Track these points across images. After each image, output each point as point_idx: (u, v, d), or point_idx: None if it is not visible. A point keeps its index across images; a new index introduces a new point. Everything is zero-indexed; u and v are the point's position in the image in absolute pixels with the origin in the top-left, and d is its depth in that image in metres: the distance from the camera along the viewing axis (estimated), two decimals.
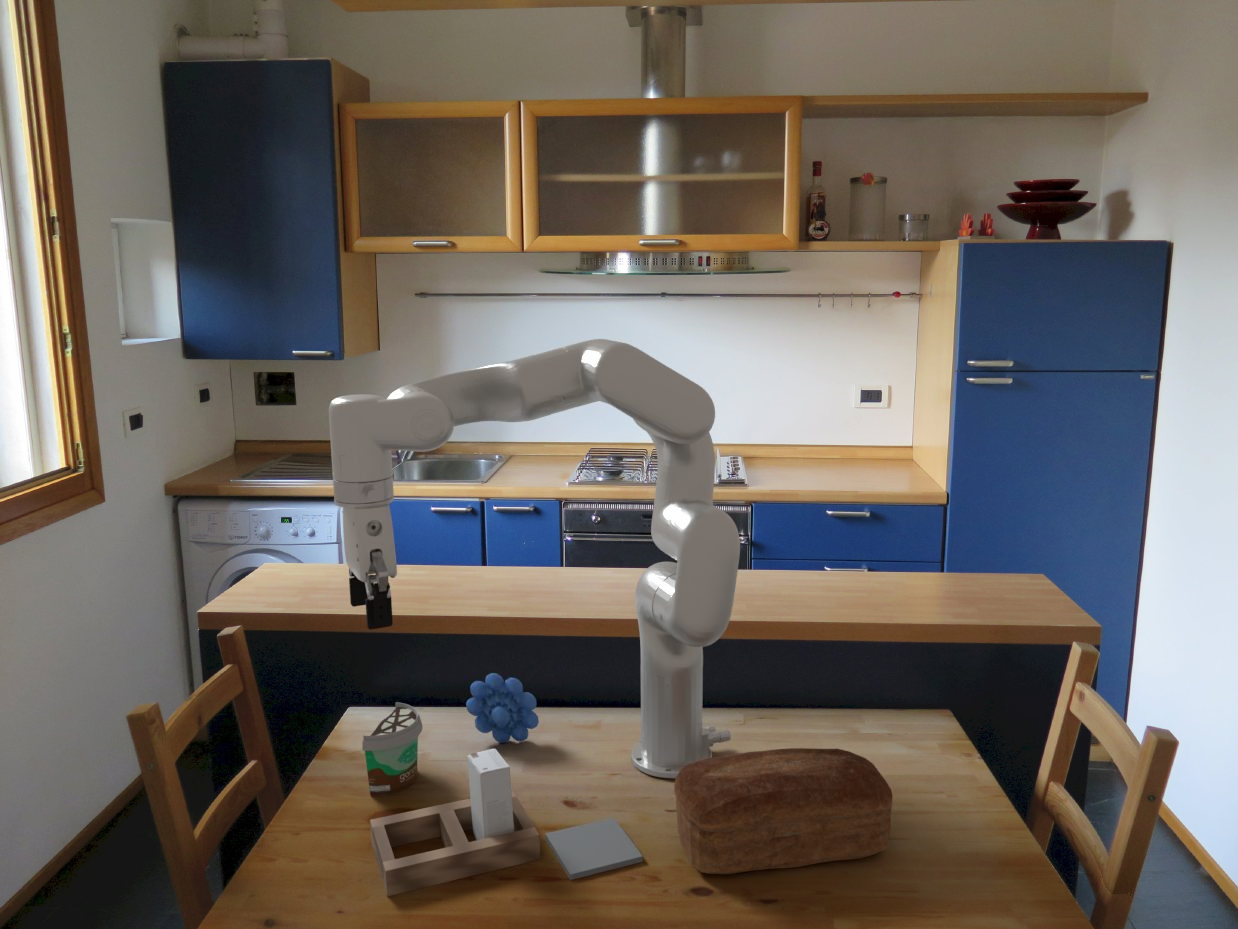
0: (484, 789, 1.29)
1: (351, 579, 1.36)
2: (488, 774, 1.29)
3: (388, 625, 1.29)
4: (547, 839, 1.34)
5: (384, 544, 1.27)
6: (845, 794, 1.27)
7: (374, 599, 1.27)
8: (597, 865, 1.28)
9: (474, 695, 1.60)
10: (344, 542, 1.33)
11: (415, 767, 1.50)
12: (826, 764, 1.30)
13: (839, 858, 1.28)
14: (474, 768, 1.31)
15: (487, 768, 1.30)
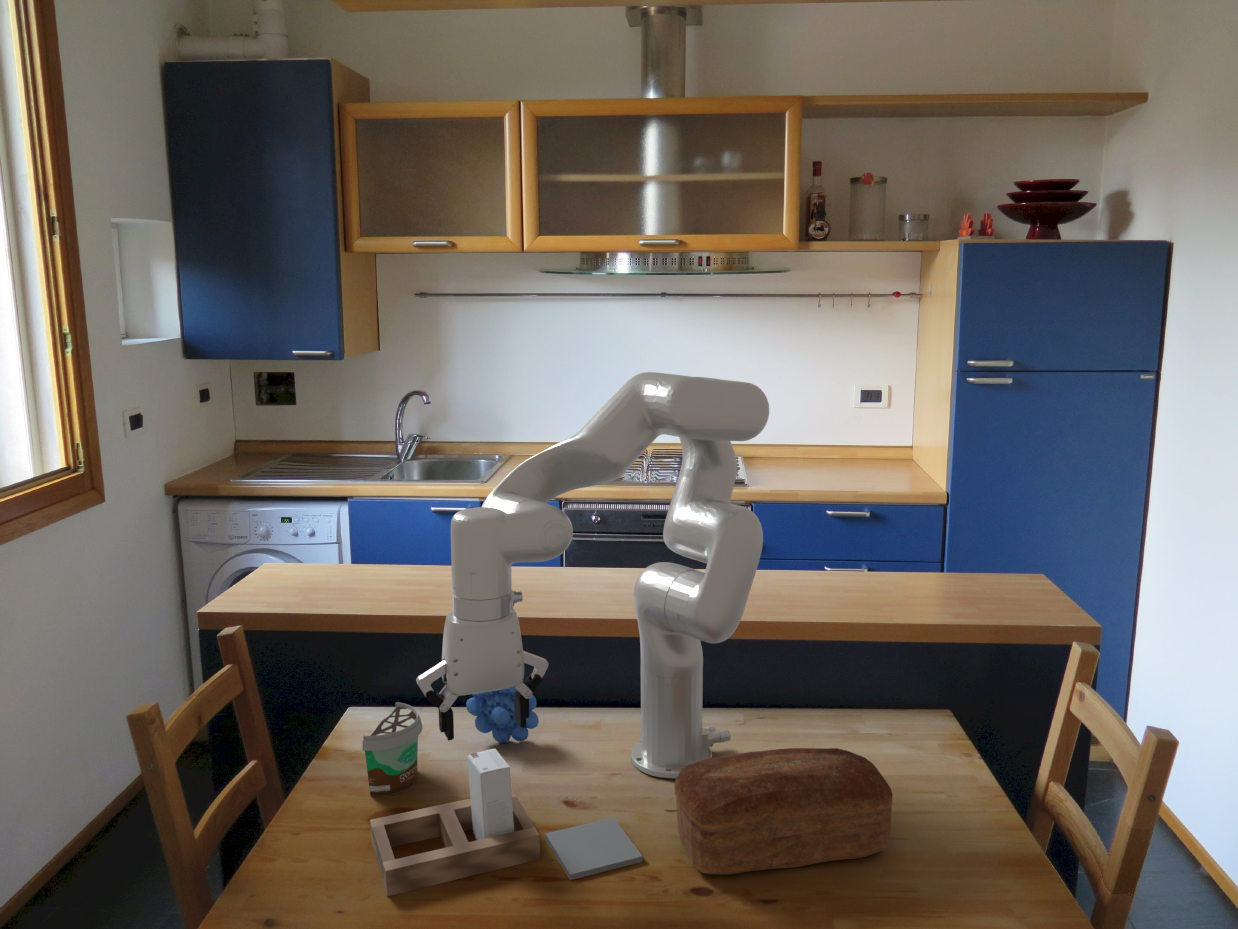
0: (484, 789, 1.29)
1: None
2: (488, 774, 1.29)
3: None
4: (547, 839, 1.34)
5: None
6: (846, 793, 1.27)
7: None
8: (597, 865, 1.28)
9: (474, 695, 1.60)
10: (462, 670, 1.26)
11: (415, 767, 1.50)
12: (826, 764, 1.31)
13: (840, 858, 1.29)
14: (474, 768, 1.31)
15: (487, 768, 1.30)
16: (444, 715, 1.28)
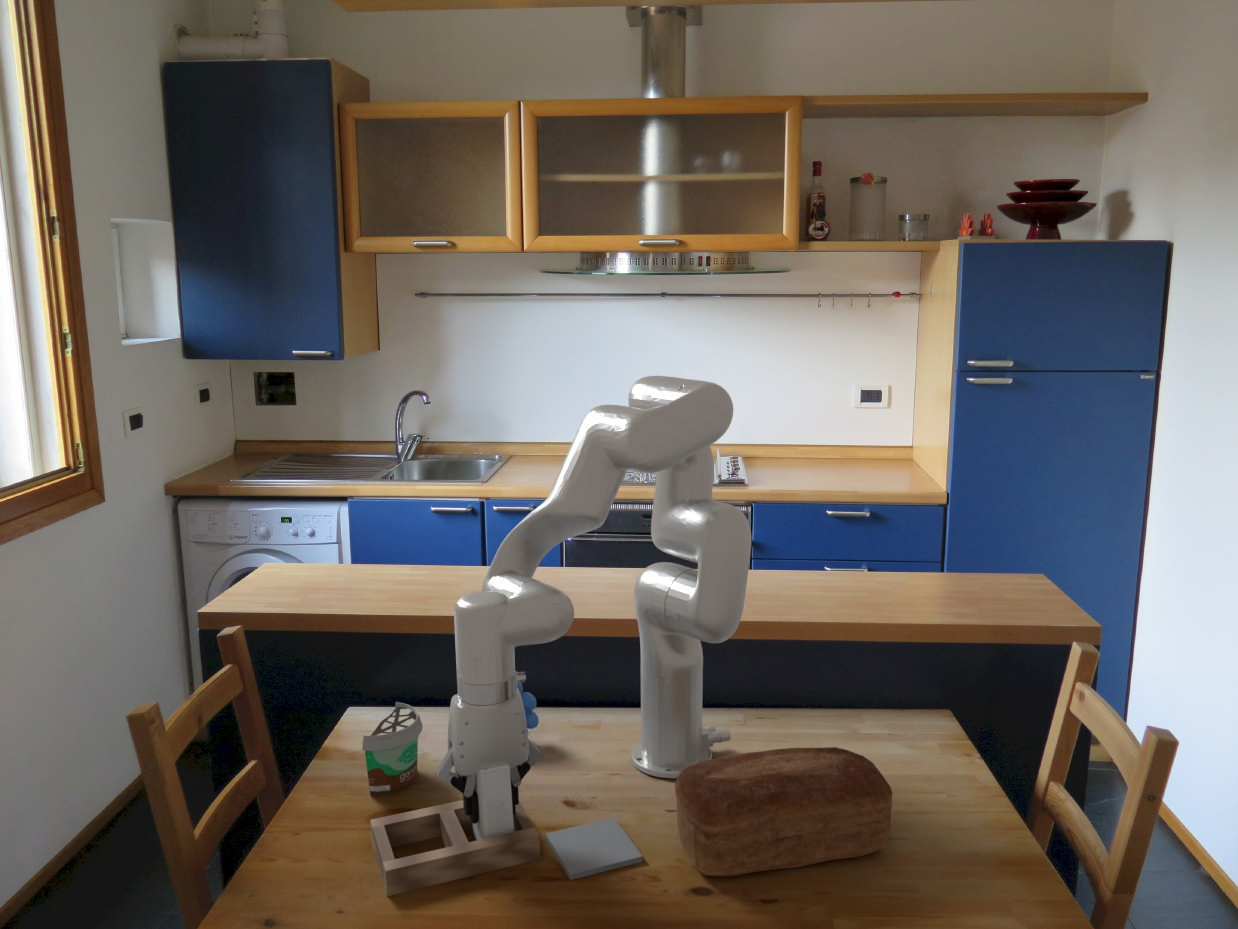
0: (484, 789, 1.29)
1: (475, 796, 1.31)
2: (488, 773, 1.29)
3: None
4: (547, 839, 1.34)
5: None
6: (847, 792, 1.27)
7: None
8: (597, 865, 1.28)
9: None
10: (468, 752, 1.28)
11: (415, 767, 1.50)
12: (827, 763, 1.31)
13: (841, 856, 1.29)
14: None
15: (487, 768, 1.30)
16: (468, 799, 1.31)
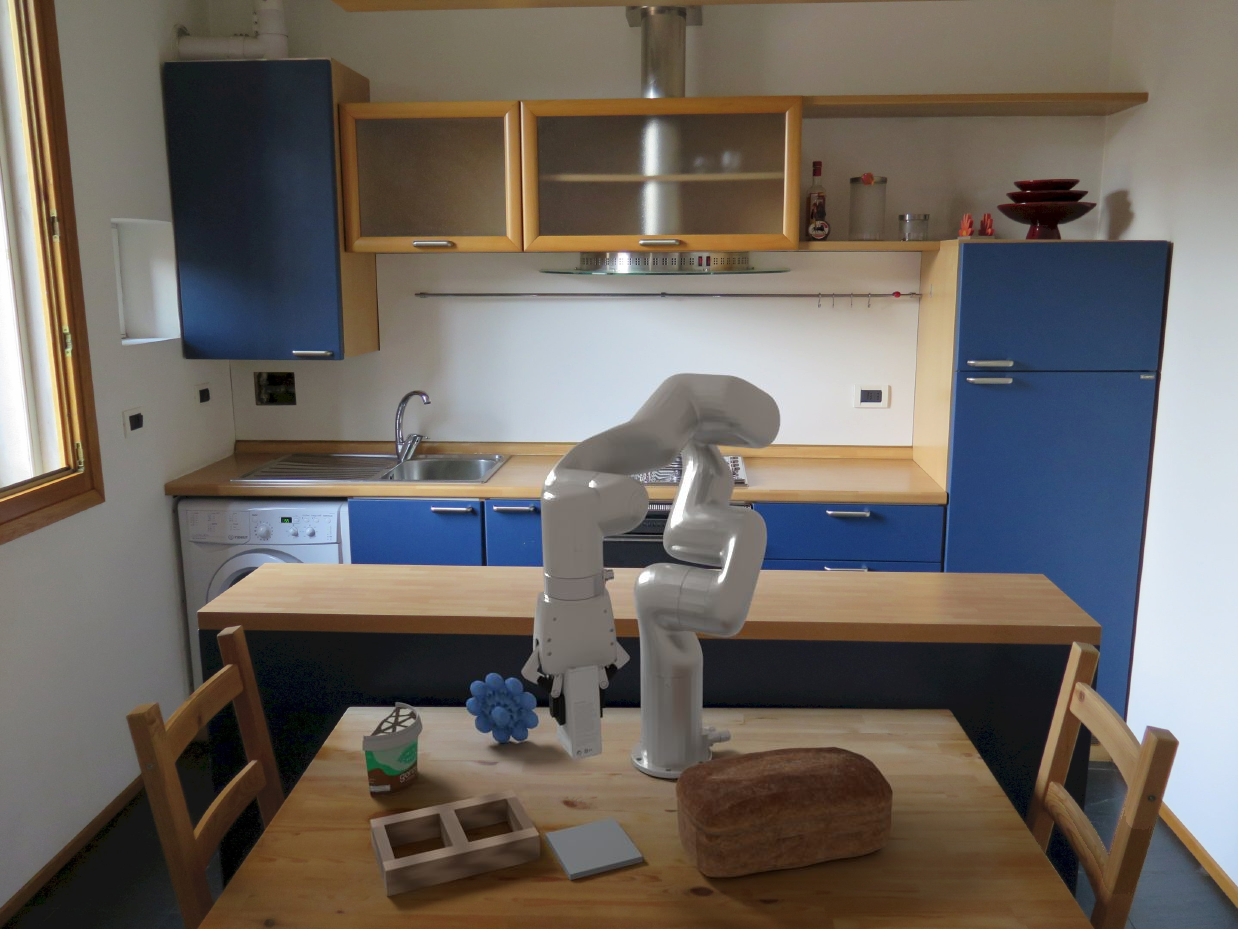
0: (571, 688, 1.25)
1: (562, 697, 1.27)
2: (576, 673, 1.25)
3: None
4: (547, 839, 1.34)
5: None
6: (848, 792, 1.27)
7: None
8: (597, 865, 1.28)
9: (474, 695, 1.60)
10: (555, 650, 1.24)
11: (415, 767, 1.50)
12: (827, 763, 1.31)
13: (842, 856, 1.29)
14: None
15: (575, 668, 1.25)
16: (555, 700, 1.27)
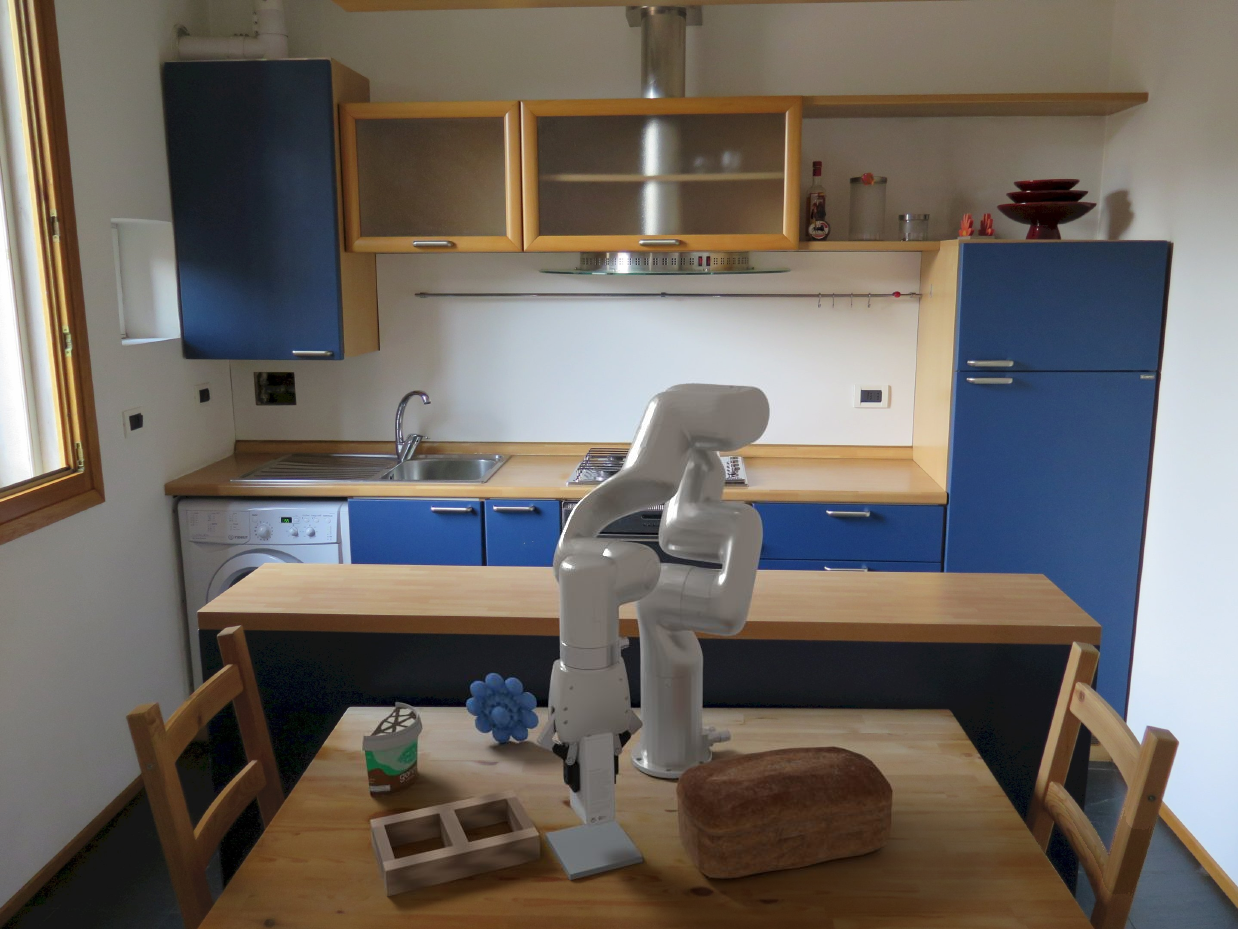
0: (587, 756, 1.26)
1: None
2: (592, 741, 1.26)
3: None
4: (547, 839, 1.34)
5: None
6: (849, 791, 1.27)
7: None
8: (597, 865, 1.28)
9: (474, 695, 1.60)
10: (571, 718, 1.25)
11: (415, 767, 1.50)
12: (827, 763, 1.31)
13: (843, 856, 1.29)
14: None
15: (590, 735, 1.27)
16: (570, 768, 1.28)
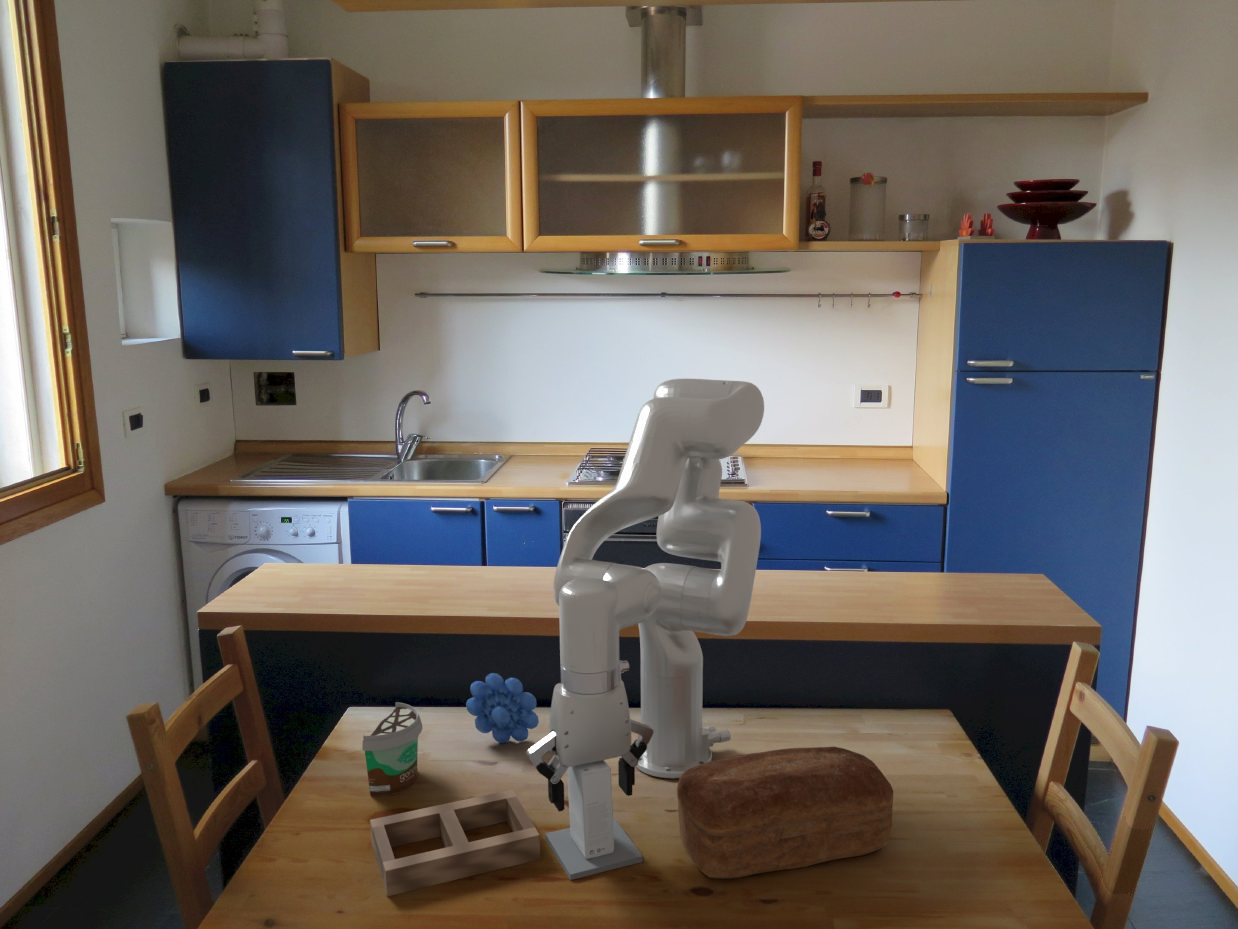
0: (585, 790, 1.27)
1: (562, 783, 1.27)
2: (589, 775, 1.27)
3: None
4: (547, 839, 1.34)
5: None
6: (849, 792, 1.27)
7: None
8: (597, 865, 1.28)
9: (474, 695, 1.60)
10: (572, 742, 1.26)
11: (415, 767, 1.50)
12: (828, 763, 1.31)
13: (843, 856, 1.29)
14: (574, 769, 1.29)
15: (588, 769, 1.28)
16: (554, 786, 1.28)
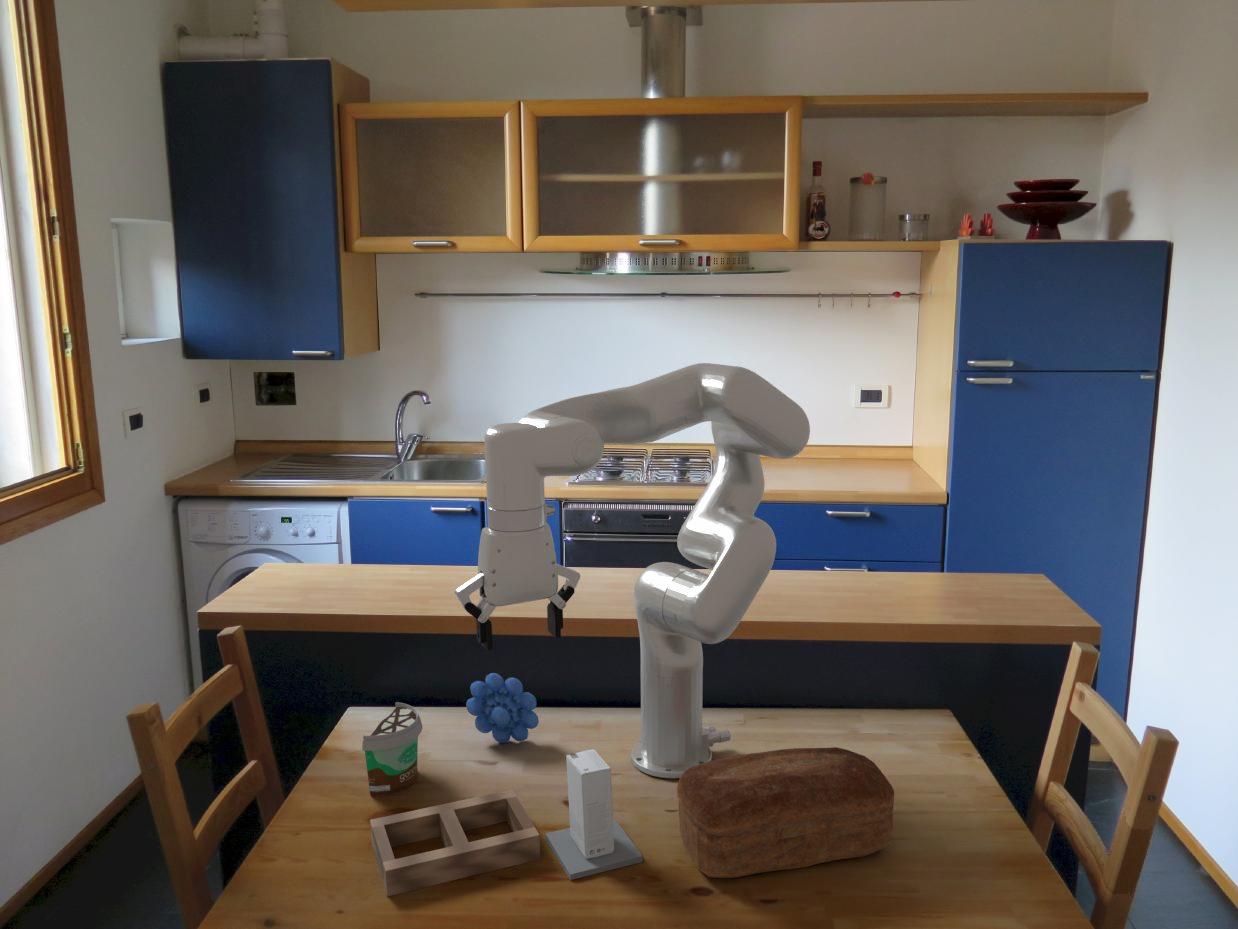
0: (585, 790, 1.27)
1: (489, 622, 1.31)
2: (589, 775, 1.27)
3: None
4: (547, 839, 1.34)
5: None
6: (850, 792, 1.27)
7: None
8: (597, 865, 1.28)
9: (474, 695, 1.60)
10: (499, 581, 1.29)
11: (415, 767, 1.50)
12: (829, 764, 1.31)
13: (844, 857, 1.29)
14: (574, 769, 1.29)
15: (588, 769, 1.28)
16: (482, 626, 1.31)
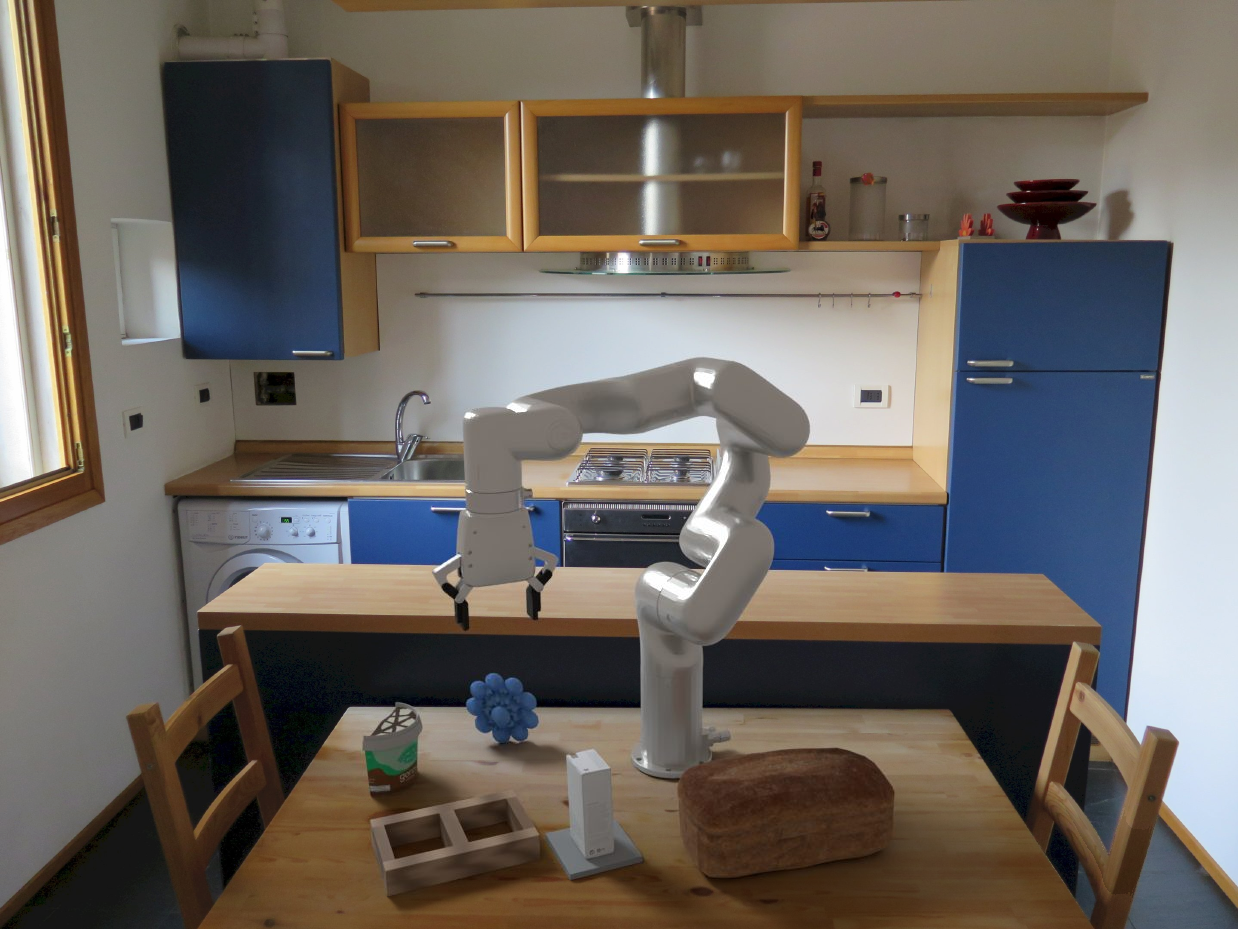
0: (585, 790, 1.27)
1: (466, 603, 1.33)
2: (589, 775, 1.27)
3: None
4: (547, 839, 1.34)
5: None
6: (850, 793, 1.27)
7: None
8: (597, 865, 1.28)
9: (474, 695, 1.60)
10: (476, 562, 1.31)
11: (415, 767, 1.50)
12: (829, 764, 1.31)
13: (844, 857, 1.29)
14: (574, 769, 1.29)
15: (588, 769, 1.28)
16: (459, 606, 1.33)
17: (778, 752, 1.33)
